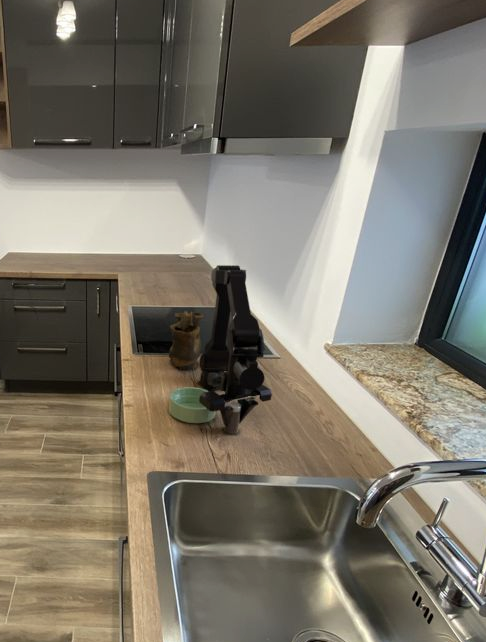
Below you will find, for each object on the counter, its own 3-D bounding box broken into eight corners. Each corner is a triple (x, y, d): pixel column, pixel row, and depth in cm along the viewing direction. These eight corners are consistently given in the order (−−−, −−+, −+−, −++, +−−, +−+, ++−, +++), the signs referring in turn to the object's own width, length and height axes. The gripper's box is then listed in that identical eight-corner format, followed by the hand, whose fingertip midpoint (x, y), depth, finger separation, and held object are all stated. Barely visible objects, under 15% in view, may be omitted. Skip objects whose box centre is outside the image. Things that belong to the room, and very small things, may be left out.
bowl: (199, 399, 136) (201, 384, 134) (224, 420, 125) (226, 404, 123) (160, 406, 132) (161, 391, 130) (183, 428, 121) (184, 412, 119)
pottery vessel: (196, 381, 147) (201, 324, 139) (163, 377, 150) (166, 321, 142) (201, 353, 169) (206, 303, 161) (173, 350, 172) (177, 300, 164)
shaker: (232, 426, 122) (236, 400, 118) (240, 433, 119) (244, 407, 115) (221, 428, 120) (224, 402, 117) (229, 435, 117) (232, 409, 114)
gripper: (249, 355, 122) (242, 404, 129) (190, 364, 116) (186, 416, 123) (277, 371, 113) (268, 423, 119) (214, 382, 107) (208, 437, 113)
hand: (231, 424), depth 119 cm, fingers closed on shaker, 3 cm apart
